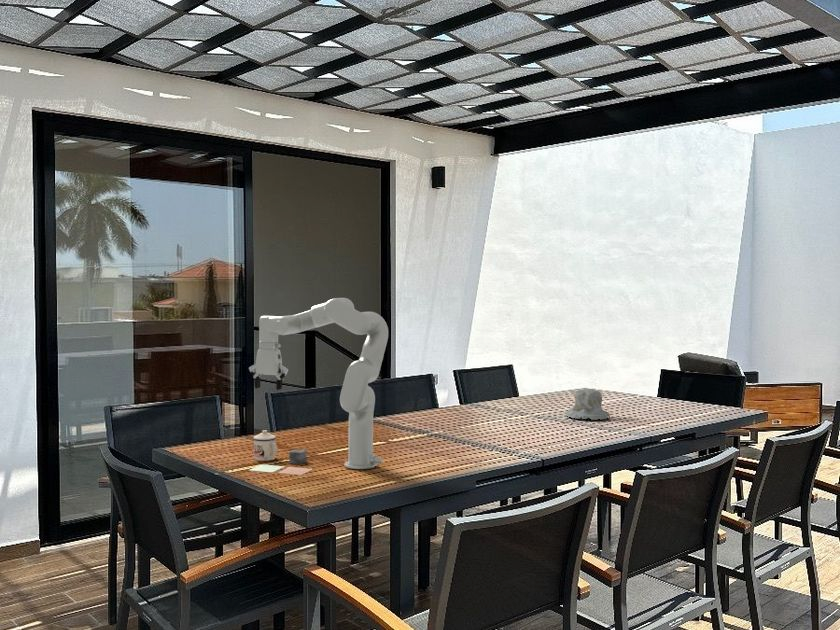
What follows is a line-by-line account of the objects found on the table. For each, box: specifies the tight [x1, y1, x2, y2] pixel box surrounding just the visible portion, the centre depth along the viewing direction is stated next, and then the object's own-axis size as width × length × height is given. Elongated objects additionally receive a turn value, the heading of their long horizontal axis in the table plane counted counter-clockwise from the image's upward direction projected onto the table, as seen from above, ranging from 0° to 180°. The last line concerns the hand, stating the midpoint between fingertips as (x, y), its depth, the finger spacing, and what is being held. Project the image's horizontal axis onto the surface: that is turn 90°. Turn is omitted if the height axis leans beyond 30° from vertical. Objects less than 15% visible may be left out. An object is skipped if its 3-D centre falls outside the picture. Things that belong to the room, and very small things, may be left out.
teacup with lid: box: [252, 429, 278, 462], centre depth 322 cm, size 12×9×12 cm
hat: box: [565, 388, 611, 421], centre depth 430 cm, size 26×23×15 cm
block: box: [288, 448, 307, 465], centre depth 316 cm, size 5×5×5 cm
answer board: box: [249, 464, 314, 476], centre depth 303 cm, size 22×10×1 cm, turn 72°
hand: (268, 388), depth 321 cm, fingers open, 9 cm apart
